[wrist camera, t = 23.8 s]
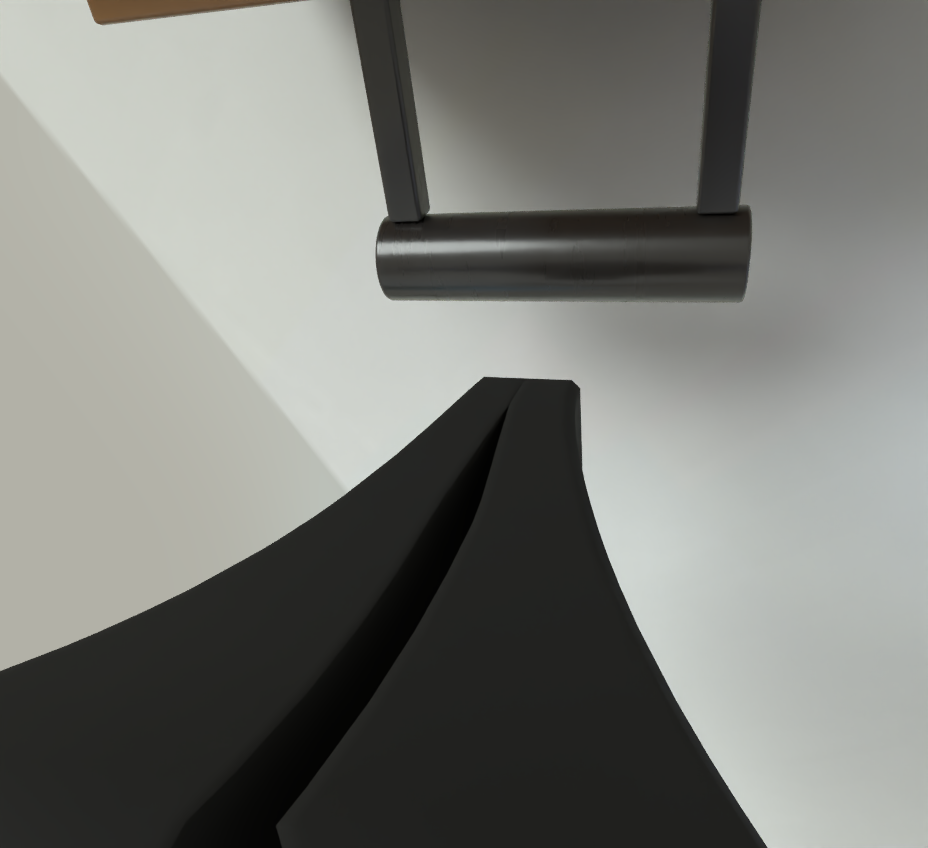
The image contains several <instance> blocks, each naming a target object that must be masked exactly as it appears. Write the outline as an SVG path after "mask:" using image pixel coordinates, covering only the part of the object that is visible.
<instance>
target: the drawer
mask: <svg viewBox="0 0 928 848" xmlns="http://www.w3.org/2000/svg"><path fill="white" fill-rule="evenodd" d="M299 1H307V0H87V2H88V5H89V7H90V10H91V13H92V16H93V18H94V20H95V22H96V23H97V24H100V25H108V24H117V23H125V22H133V21H141V20H150V19H158V18H166V17H175V16H183V15H191V14H199V13H208V12H216V11H224V10H233V9H241V8H249V7H257V6H266V5H274V4H282V3H291V2H299ZM761 1H762V0H711V8H710V22H709V35H708V49H707V63H706V76H705V90H704V103H703V117H702V131H701V144H700V158H699V171H698V185H697V199H696V204H697V206H690V207H655V208H619V209H584V210H549V211H514V212H479V213H443V214H427V213H428V211H429V209H430V205H429V198H428V191H427V184H426V178H425V171H424V164H423V157H422V150H421V143H420V136H419V129H418V123H417V116H416V109H415V102H414V95H413V88H412V81H411V74H410V68H409V61H408V54H407V47H406V40H405V33H404V26H403V19H402V13H401V6H400V0H350V5H351V10H352V16H353V22H354V27H355V33H356V38H357V44H358V49H359V55H360V60H361V66H362V71H363V77H364V82H365V88H366V93H367V99H368V105H369V110H370V116H371V121H372V127H373V132H374V138H375V143H376V149H377V154H378V160H379V165H380V171H381V177H382V182H383V188H384V193H385V199H386V204H387V210H388V215H389V216H387V217H386V218H384V220H383V221H382V223H381V225H380V227H379V231H378V235H377V241H376V268H377V274H378V279H379V283H380V286H381V288H382V290H383V292H384V294H385V295H386V297H387V298H389V299H391V300H417V301H567V302H718V303H740V302H742V301H743V299H744V296H745V293H746V288H747V282H748V275H749V267H750V256H751V241H752V213H751V209H750V206H748V205H739V203H740V193H741V184H742V175H743V166H744V157H745V147H746V138H747V129H748V120H749V111H750V102H751V92H752V83H753V74H754V65H755V56H756V46H757V37H758V28H759V19H760V10H761Z"/></svg>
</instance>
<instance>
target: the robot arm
mask: <svg viewBox="0 0 928 848" xmlns="http://www.w3.org/2000/svg"><path fill="white" fill-rule="evenodd" d="M0 848H767V846H766V845H765V843H764V842H763V840H762V839H761V837H760V836H759V834H758V833H757V831H756V829H755V828H754V826H753V825H752V823H751V822H750V820H749V819H748V817H747V816H746V814H745V813H744V811H743V810H742V808H741V807H740V805H739V804H738V802H737V801H736V799H735V797H734V796H733V794H732V793H731V791H730V790H729V788H728V786H727V785H726V783H725V782H724V780H723V778H722V777H721V775H720V774H719V772H718V770H717V769H716V767H715V766H714V764H713V763H712V761H711V759H710V758H709V756H708V754H707V753H706V751H705V749H704V748H703V746H702V744H701V742H700V741H699V739H698V737H697V736H696V734H695V732H694V731H693V729H692V727H691V725H690V724H689V722H688V720H687V719H686V717H685V715H684V713H683V712H682V710H681V708H680V707H679V705H678V703H677V701H676V700H675V698H674V696H673V694H672V692H671V690H670V688H669V686H668V684H667V682H666V680H665V678H664V676H663V675H662V673H661V671H660V669H659V667H658V665H657V663H656V661H655V659H654V657H653V655H652V653H651V651H650V650H649V648H648V646H647V644H646V642H645V640H644V638H643V636H642V634H641V632H640V630H639V628H638V626H637V624H636V622H635V620H634V617H633V615H632V613H631V611H630V608H629V606H628V604H627V602H626V599H625V597H624V595H623V593H622V590H621V588H620V586H619V583H618V581H617V578H616V576H615V573H614V571H613V568H612V566H611V563H610V561H609V558H608V555H607V553H606V550H605V547H604V544H603V542H602V539H601V536H600V533H599V530H598V527H597V523H596V520H595V517H594V514H593V510H592V507H591V504H590V500H589V497H588V493H587V489H586V485H585V481H584V476H583V471H582V442H581V405H580V388H579V387H578V386H577V385H576V384H575V383H574V382H573V381H572V380H550V379H524V378H498V377H483V378H482V379H481V380H480V381H479V382H477V383H476V384H475V385H474V386H473V387H472V388H471V389H470V390H468V391H467V392H466V393H465V394H464V395H463V396H462V397H461V398H460V399H459V400H457V401H456V402H455V403H454V404H453V405H452V406H451V407H450V408H449V409H447V410H446V411H445V412H444V413H443V414H442V415H441V416H440V417H439V418H438V419H436V420H435V421H434V422H433V423H432V424H431V425H430V426H429V427H428V428H426V429H425V430H424V431H423V432H422V433H421V434H420V435H418V436H417V437H416V438H415V439H414V440H413V441H412V442H410V443H409V444H408V445H407V446H406V447H405V448H403V449H402V450H401V451H400V452H399V453H398V454H397V455H395V456H394V457H393V458H391V459H390V460H389V461H388V462H386V463H385V464H384V465H383V466H381V467H380V468H379V469H377V470H376V471H375V472H374V473H372V474H371V475H370V476H368V477H367V478H366V479H365V480H363V481H362V482H361V483H360V484H358V485H357V486H356V487H354V488H353V489H352V490H351V491H349V492H348V493H347V494H346V495H344V496H343V497H341V498H340V499H339V500H337V501H336V502H335V503H333V504H332V505H330V506H329V507H327V508H326V509H325V510H323V511H322V512H320V513H319V514H317V515H316V516H314V517H313V518H311V519H310V520H308V521H307V522H305V523H304V524H302V525H301V526H299V527H297V528H296V529H295V530H293V531H291V532H290V533H288V534H287V535H285V536H283V537H282V538H280V539H279V540H277V541H276V542H274V543H272V544H271V545H269V546H267V547H266V548H264V549H262V550H261V551H259V552H257V553H255V554H253V555H251V556H250V557H248V558H246V559H245V560H243V561H241V562H239V563H237V564H235V565H233V566H232V567H230V568H228V569H226V570H224V571H223V572H221V573H219V574H217V575H215V576H213V577H212V578H210V579H208V580H206V581H204V582H202V583H201V584H199V585H197V586H195V587H193V588H191V589H189V590H187V591H186V592H184V593H182V594H180V595H177V596H175V597H173V598H171V599H169V600H167V601H165V602H163V603H161V604H159V605H157V606H155V607H153V608H151V609H149V610H147V611H144V612H142V613H140V614H138V615H136V616H133V617H131V618H129V619H127V620H124V621H122V622H120V623H118V624H116V625H113V626H111V627H109V628H107V629H104V630H102V631H100V632H98V633H95V634H93V635H91V636H88V637H86V638H83V639H81V640H79V641H77V642H74V643H72V644H69V645H67V646H64V647H62V648H59V649H57V650H54V651H51V652H49V653H46V654H44V655H41V656H39V657H36V658H33V659H31V660H28V661H25V662H23V663H20V664H18V665H15V666H12V667H10V668H7V669H5V670H2V671H0Z"/></svg>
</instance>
